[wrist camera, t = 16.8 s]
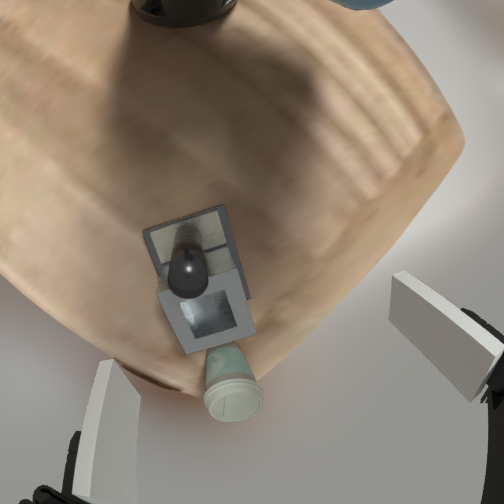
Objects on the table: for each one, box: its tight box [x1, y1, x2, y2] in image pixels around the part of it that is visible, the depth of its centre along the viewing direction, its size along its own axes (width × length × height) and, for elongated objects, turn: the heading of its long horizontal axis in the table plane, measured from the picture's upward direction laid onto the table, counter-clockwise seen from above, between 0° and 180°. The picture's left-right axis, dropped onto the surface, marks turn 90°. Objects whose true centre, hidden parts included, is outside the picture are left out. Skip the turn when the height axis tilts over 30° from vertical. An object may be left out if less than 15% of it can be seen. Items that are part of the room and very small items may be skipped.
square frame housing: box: [142, 204, 257, 354], centre depth 33 cm, size 14×11×9 cm
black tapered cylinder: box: [167, 226, 209, 299], centre depth 28 cm, size 4×4×12 cm
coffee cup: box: [203, 342, 264, 423], centre depth 38 cm, size 8×9×12 cm
